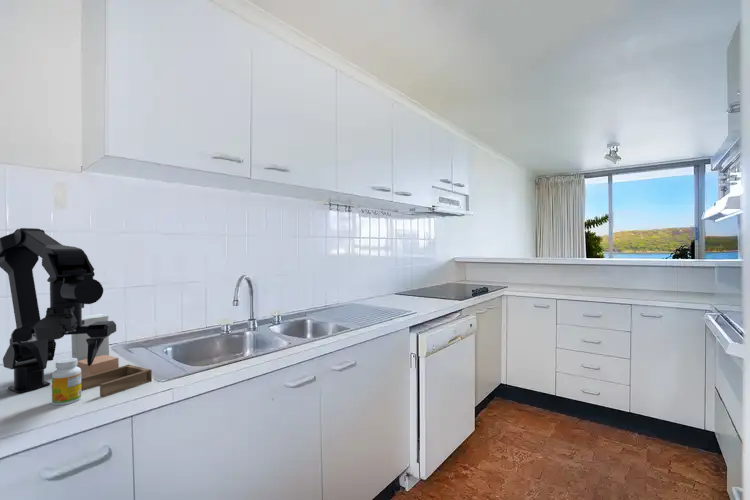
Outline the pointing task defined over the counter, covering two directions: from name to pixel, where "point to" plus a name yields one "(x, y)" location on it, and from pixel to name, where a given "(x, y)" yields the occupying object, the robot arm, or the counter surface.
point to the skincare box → (80, 339)
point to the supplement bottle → (66, 382)
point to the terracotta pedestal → (98, 365)
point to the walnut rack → (117, 379)
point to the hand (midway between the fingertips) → (67, 367)
